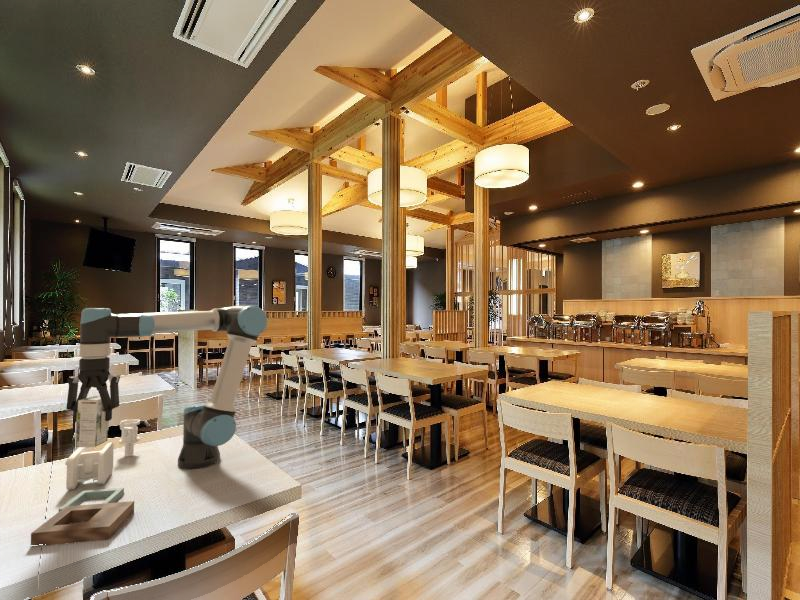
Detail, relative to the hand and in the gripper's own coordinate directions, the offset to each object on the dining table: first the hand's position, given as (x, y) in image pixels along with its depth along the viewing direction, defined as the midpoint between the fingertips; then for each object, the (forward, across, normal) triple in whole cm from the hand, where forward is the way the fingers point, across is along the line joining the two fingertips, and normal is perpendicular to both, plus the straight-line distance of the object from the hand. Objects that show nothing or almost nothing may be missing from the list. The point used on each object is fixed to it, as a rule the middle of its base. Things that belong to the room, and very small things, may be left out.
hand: (92, 431), depth 123 cm
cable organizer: (+23, +10, -19) cm, 32 cm away
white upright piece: (+23, +10, -45) cm, 52 cm away
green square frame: (+23, 0, -2) cm, 23 cm away
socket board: (+23, -6, +13) cm, 27 cm away
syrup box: (+4, 0, 0) cm, 4 cm away
